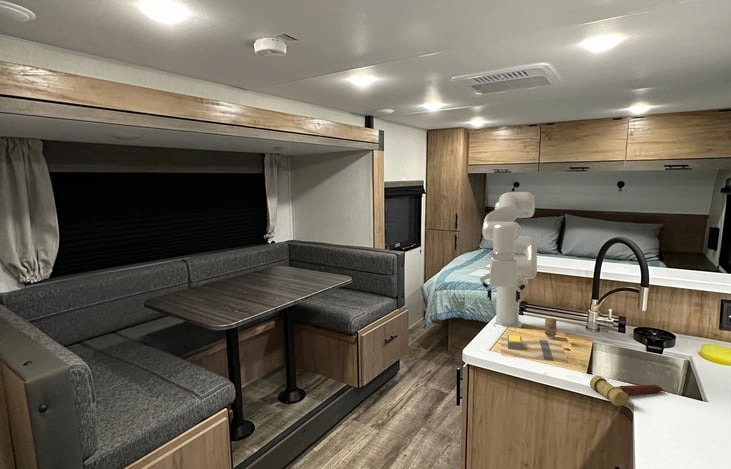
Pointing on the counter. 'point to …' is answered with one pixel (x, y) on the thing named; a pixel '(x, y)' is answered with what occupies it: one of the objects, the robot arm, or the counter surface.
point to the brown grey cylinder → (550, 328)
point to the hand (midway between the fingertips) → (503, 300)
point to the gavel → (621, 390)
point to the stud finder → (514, 342)
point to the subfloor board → (535, 350)
